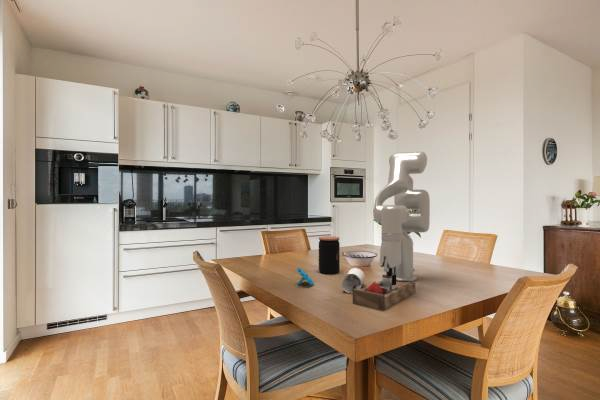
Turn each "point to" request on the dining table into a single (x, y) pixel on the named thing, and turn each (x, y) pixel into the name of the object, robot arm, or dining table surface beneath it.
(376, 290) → the pomegranate
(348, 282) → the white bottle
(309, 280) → the gear
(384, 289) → the grey angular piece
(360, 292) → the guide
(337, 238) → the coffee jar
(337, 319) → the dining table surface
